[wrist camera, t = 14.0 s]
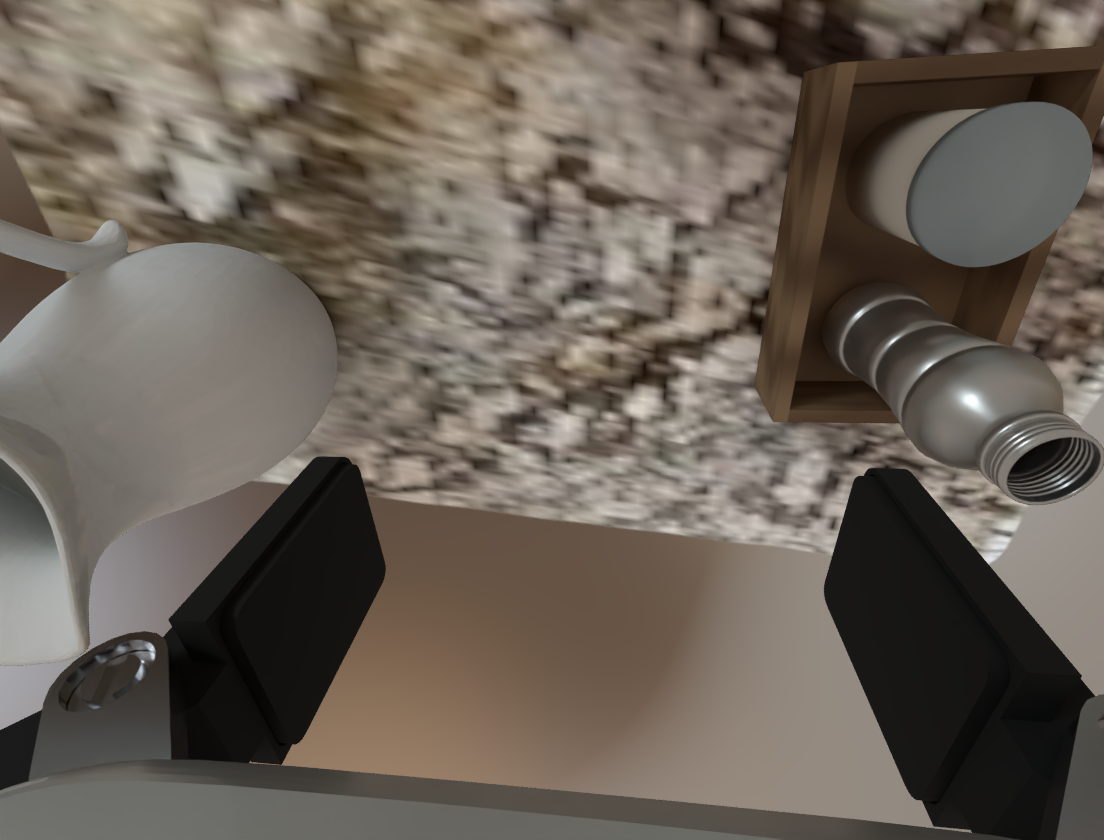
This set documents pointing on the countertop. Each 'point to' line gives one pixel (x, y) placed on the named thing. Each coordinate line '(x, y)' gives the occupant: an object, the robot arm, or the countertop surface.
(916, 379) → the grey metal bottle
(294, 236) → the countertop surface
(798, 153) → the crate
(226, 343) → the pitcher
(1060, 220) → the jar
